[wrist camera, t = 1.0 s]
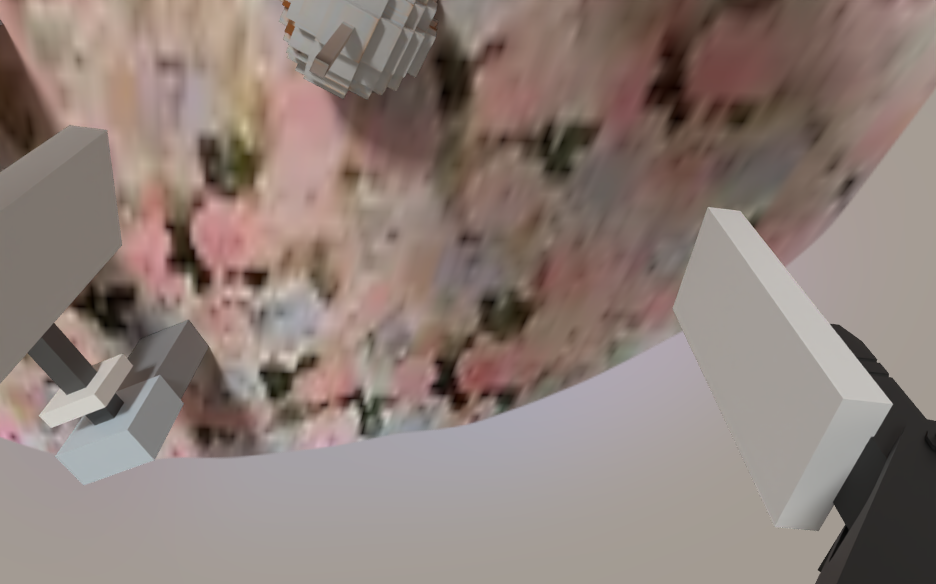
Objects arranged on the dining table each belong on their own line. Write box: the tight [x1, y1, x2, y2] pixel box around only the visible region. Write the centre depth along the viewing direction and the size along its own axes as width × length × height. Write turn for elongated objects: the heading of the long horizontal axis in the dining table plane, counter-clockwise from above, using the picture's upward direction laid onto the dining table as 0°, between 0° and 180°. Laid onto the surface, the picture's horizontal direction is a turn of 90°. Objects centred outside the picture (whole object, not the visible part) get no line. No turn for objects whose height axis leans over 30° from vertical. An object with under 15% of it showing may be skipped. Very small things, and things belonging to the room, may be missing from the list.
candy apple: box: [279, 0, 438, 100], centre depth 32 cm, size 8×8×15 cm
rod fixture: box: [0, 21, 209, 485], centre depth 40 cm, size 25×8×12 cm, turn 23°
